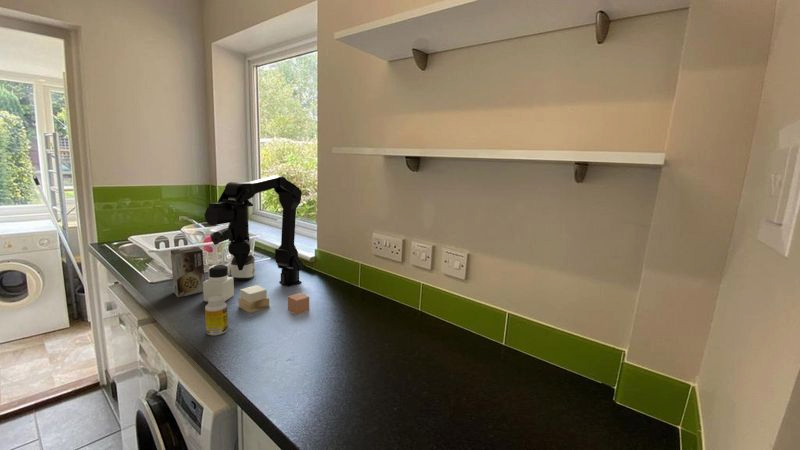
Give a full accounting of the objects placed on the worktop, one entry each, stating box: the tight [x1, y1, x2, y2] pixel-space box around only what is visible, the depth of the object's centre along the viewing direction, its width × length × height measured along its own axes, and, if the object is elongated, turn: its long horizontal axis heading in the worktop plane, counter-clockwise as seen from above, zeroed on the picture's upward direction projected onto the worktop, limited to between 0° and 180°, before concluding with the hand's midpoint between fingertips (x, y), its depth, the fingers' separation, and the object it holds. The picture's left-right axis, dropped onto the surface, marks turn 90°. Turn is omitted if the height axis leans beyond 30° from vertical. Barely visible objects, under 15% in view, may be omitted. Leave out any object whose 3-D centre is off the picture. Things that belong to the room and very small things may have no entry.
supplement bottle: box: [204, 296, 229, 336], centre depth 100 cm, size 6×6×10 cm
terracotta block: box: [287, 292, 310, 316], centre depth 117 cm, size 5×5×5 cm
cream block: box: [239, 285, 268, 303], centre depth 118 cm, size 6×6×3 cm
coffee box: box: [170, 246, 206, 298], centre depth 127 cm, size 9×6×16 cm
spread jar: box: [227, 249, 256, 282], centre depth 146 cm, size 12×11×12 cm
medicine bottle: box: [202, 264, 235, 303], centre depth 123 cm, size 7×7×12 cm
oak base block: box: [238, 296, 270, 314], centre depth 118 cm, size 7×7×4 cm
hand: (240, 266), depth 118 cm, fingers open, 9 cm apart
